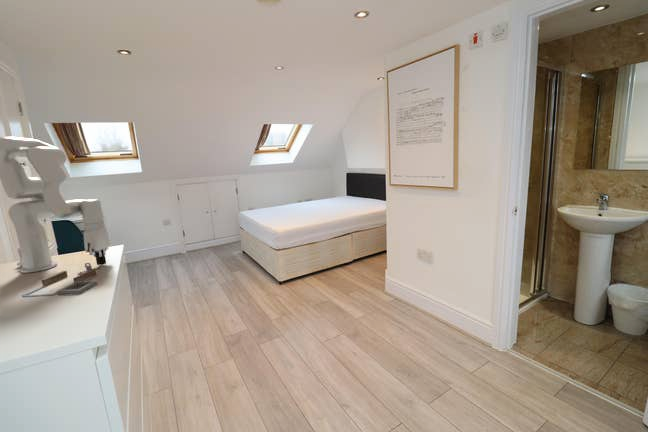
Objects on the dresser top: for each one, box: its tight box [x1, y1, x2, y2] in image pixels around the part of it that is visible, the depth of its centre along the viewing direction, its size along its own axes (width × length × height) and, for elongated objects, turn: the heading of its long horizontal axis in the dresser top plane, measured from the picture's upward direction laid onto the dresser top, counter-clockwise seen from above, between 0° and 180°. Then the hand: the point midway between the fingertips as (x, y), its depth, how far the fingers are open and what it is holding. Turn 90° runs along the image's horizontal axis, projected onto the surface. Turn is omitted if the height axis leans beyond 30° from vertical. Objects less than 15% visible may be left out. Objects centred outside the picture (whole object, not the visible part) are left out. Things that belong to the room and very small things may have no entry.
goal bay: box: [21, 285, 57, 298], centre depth 113 cm, size 12×9×1 cm
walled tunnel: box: [41, 268, 97, 287], centre depth 123 cm, size 14×10×2 cm
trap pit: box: [56, 280, 98, 296], centre depth 113 cm, size 8×9×2 cm
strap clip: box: [77, 262, 101, 276], centre depth 133 cm, size 8×3×4 cm, turn 165°
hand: (101, 264), depth 141 cm, fingers closed
